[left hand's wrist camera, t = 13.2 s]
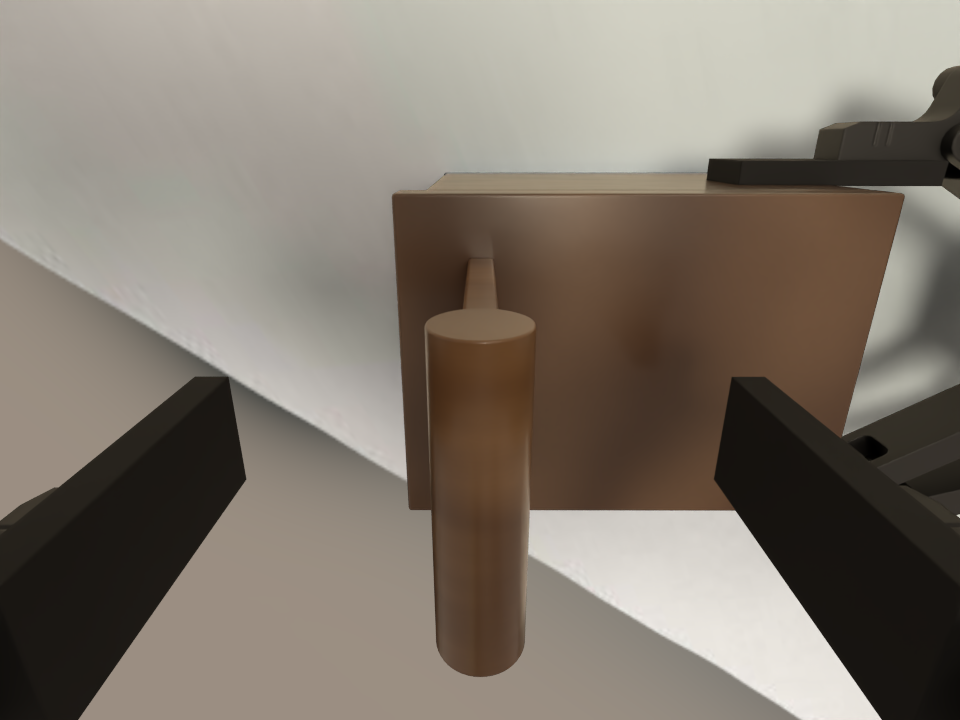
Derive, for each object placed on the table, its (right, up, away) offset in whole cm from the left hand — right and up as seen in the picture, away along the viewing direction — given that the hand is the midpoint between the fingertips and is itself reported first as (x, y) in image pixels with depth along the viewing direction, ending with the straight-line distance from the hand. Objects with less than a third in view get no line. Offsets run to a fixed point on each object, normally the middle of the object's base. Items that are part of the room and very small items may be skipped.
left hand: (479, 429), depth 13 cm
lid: (+4, +2, +4) cm, 7 cm away
